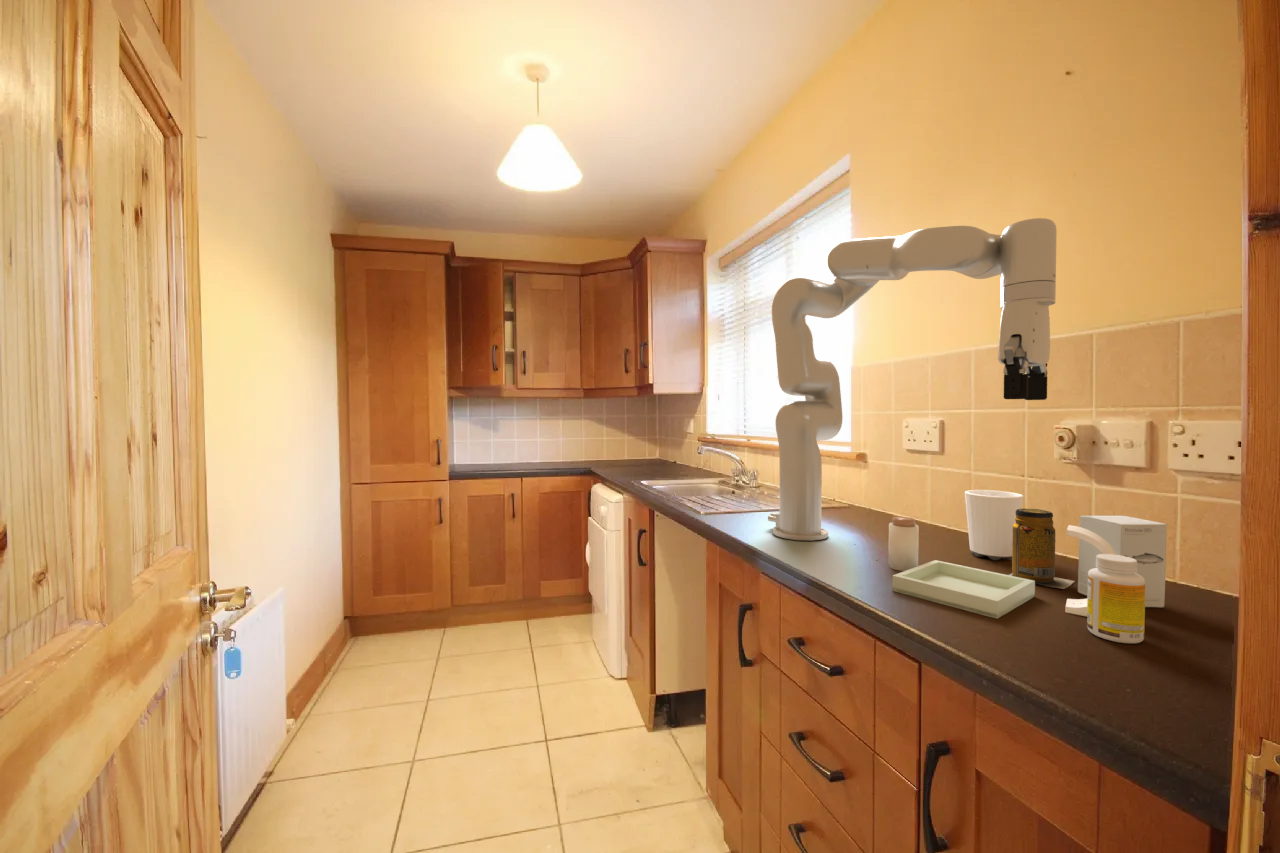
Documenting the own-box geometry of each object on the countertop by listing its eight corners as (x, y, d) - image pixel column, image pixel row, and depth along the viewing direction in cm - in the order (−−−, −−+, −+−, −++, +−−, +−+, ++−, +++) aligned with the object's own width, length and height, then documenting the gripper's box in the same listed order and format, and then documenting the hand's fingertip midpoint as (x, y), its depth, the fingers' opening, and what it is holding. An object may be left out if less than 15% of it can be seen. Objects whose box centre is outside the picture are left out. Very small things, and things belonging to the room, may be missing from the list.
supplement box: (1118, 609, 79) (1120, 523, 79) (1076, 592, 86) (1077, 514, 86) (1167, 608, 79) (1169, 523, 79) (1120, 592, 87) (1122, 514, 86)
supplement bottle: (1156, 645, 67) (1158, 563, 66) (1111, 645, 67) (1113, 563, 66) (1117, 627, 72) (1119, 552, 72) (1075, 627, 72) (1077, 552, 72)
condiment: (1016, 570, 98) (1017, 505, 98) (1075, 582, 92) (1076, 512, 91) (1003, 578, 94) (1004, 510, 93) (1063, 591, 87) (1064, 517, 87)
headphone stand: (1067, 603, 81) (1068, 524, 81) (1120, 613, 77) (1122, 530, 77) (1065, 612, 78) (1066, 529, 77) (1120, 623, 74) (1122, 536, 73)
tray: (892, 590, 87) (892, 575, 87) (935, 573, 96) (935, 560, 96) (997, 618, 75) (997, 601, 75) (1034, 596, 84) (1034, 580, 84)
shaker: (883, 566, 101) (883, 518, 101) (896, 562, 104) (897, 514, 104) (910, 573, 97) (910, 522, 97) (923, 568, 100) (923, 519, 100)
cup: (953, 550, 113) (953, 489, 112) (997, 549, 113) (998, 489, 113) (986, 563, 103) (987, 497, 103) (1035, 562, 103) (1036, 496, 103)
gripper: (1019, 307, 98) (1017, 400, 99) (981, 294, 88) (980, 399, 88) (1070, 300, 92) (1068, 399, 93) (1037, 285, 82) (1035, 398, 82)
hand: (1025, 399), depth 90 cm, fingers open, 9 cm apart
